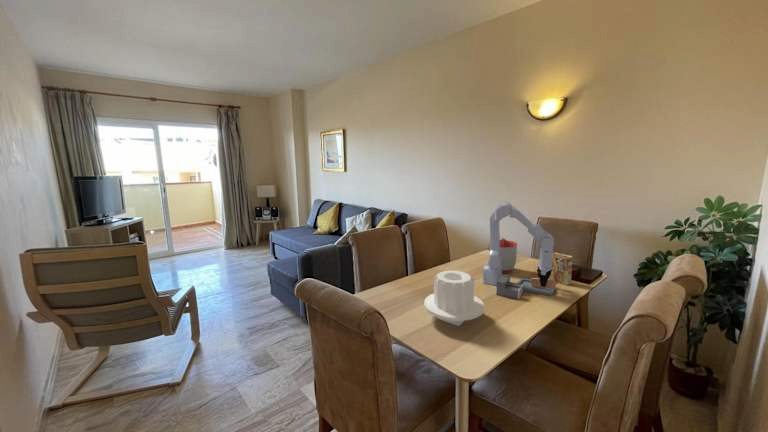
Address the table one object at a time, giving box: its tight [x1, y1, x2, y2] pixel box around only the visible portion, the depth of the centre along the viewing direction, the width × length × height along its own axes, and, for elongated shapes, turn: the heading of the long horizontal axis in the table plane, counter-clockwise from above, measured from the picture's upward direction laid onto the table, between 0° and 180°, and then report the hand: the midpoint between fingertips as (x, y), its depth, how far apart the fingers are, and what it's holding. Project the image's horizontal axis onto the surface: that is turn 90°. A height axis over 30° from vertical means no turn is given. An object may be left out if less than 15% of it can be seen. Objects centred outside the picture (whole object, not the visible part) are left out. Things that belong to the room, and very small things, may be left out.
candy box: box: [550, 252, 574, 286], centre depth 167 cm, size 9×4×15 cm, turn 34°
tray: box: [517, 277, 556, 297], centre depth 162 cm, size 17×13×2 cm
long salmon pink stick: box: [530, 277, 557, 290], centre depth 160 cm, size 11×1×4 cm, turn 55°
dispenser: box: [496, 274, 524, 300], centre depth 156 cm, size 10×10×7 cm
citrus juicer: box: [486, 237, 518, 274], centre depth 187 cm, size 16×17×20 cm
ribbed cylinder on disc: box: [423, 269, 485, 327], centre depth 133 cm, size 25×25×19 cm
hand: (544, 283), depth 159 cm, fingers open, 7 cm apart
